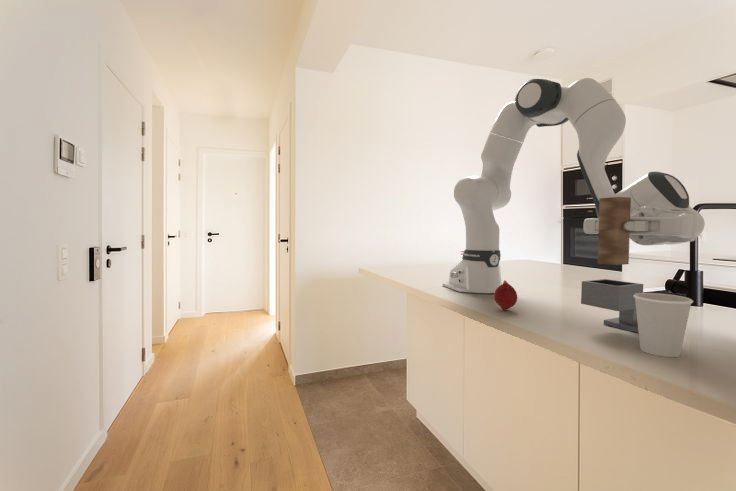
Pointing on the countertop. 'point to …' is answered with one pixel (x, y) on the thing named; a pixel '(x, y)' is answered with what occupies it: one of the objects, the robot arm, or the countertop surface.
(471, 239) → the robot arm
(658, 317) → the dixie cup
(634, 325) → the box
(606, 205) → the rail post
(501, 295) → the onion
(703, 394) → the countertop surface
